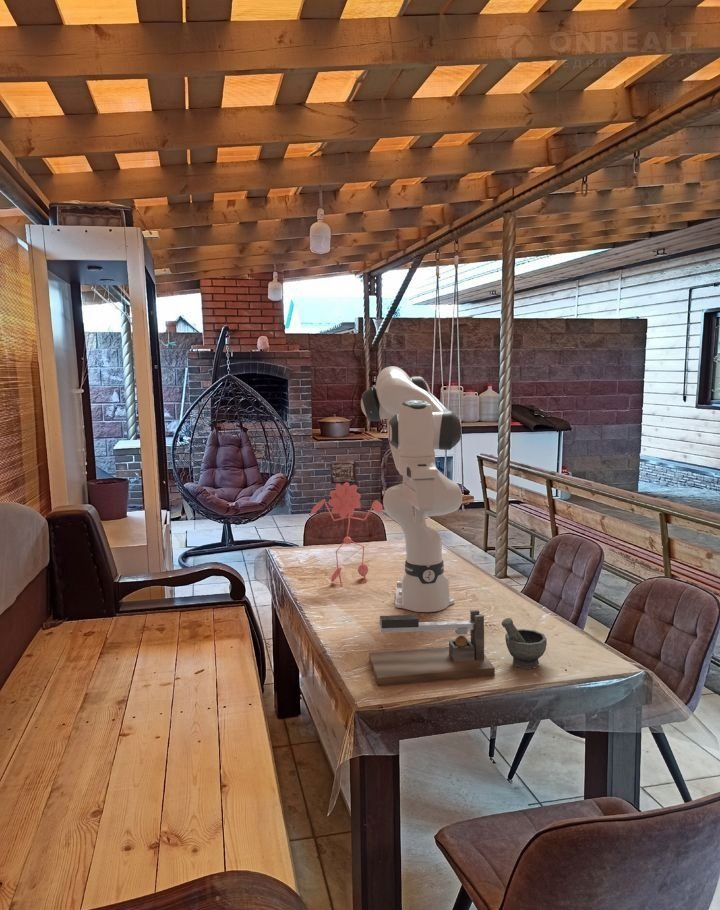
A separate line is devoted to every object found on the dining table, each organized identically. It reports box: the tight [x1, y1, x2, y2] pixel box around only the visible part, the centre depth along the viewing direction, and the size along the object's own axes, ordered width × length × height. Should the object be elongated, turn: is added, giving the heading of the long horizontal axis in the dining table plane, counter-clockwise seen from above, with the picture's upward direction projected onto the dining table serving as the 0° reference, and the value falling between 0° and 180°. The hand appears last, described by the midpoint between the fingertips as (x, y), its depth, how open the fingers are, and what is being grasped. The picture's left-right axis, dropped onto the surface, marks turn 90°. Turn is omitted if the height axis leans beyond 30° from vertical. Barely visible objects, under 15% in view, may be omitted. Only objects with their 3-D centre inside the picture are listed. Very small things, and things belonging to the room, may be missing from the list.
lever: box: [379, 614, 475, 636], centre depth 158 cm, size 3×24×4 cm, turn 97°
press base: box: [368, 609, 496, 687], centre depth 159 cm, size 14×28×13 cm, turn 97°
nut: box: [454, 635, 468, 647], centre depth 160 cm, size 3×3×3 cm
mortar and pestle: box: [501, 617, 548, 670], centre depth 160 cm, size 11×9×12 cm
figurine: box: [309, 481, 384, 587], centre depth 231 cm, size 15×26×35 cm, turn 112°
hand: (418, 522), depth 161 cm, fingers closed
